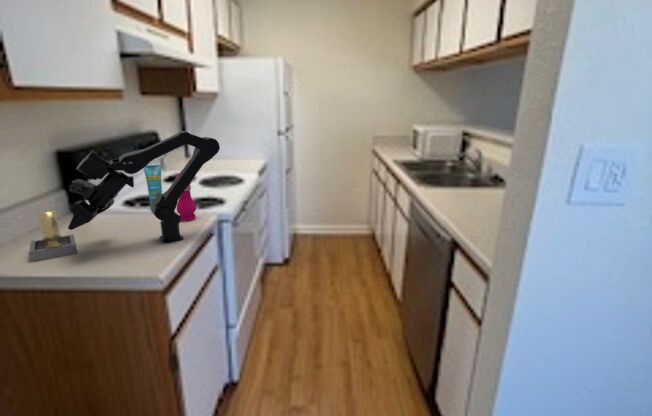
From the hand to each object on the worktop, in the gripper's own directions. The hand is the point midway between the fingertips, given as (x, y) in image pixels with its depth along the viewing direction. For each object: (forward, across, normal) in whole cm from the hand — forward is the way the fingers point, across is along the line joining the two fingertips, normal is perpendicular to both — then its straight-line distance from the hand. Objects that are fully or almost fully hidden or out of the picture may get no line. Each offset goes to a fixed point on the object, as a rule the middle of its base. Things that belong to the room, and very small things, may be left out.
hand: (76, 224), depth 119 cm
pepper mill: (-13, -29, +26) cm, 41 cm away
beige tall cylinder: (+11, 0, +1) cm, 11 cm away
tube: (-2, -49, +14) cm, 51 cm away
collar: (+11, 0, +1) cm, 11 cm away
